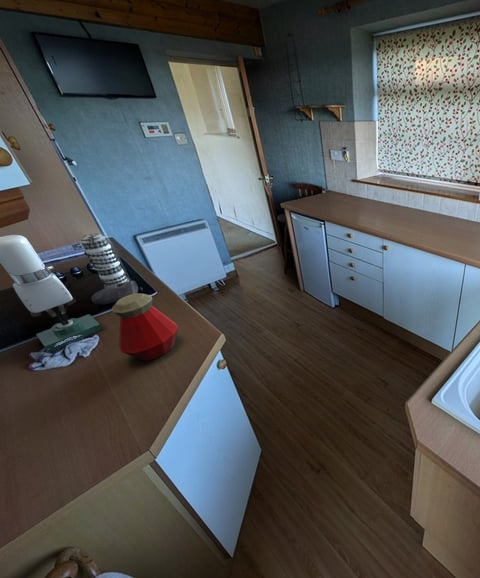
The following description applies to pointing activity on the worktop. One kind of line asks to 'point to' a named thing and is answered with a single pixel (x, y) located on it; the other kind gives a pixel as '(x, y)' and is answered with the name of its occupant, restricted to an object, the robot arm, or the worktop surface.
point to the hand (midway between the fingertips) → (65, 323)
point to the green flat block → (69, 332)
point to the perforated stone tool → (115, 293)
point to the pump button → (65, 324)
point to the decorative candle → (103, 259)
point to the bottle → (143, 328)
